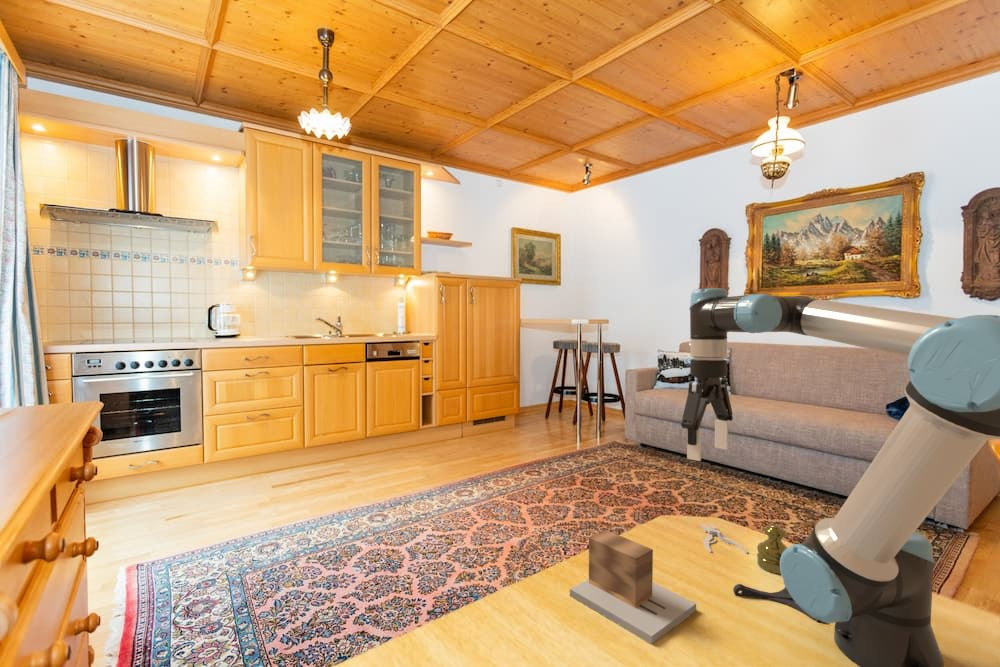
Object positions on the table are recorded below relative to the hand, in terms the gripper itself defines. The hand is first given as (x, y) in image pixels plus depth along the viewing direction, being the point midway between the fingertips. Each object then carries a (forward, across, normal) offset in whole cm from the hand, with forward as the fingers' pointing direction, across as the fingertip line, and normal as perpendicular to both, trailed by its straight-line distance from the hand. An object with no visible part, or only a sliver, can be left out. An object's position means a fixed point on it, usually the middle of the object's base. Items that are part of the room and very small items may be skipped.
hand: (708, 453), depth 107 cm
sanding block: (+28, +18, -11) cm, 35 cm away
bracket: (+31, -5, +11) cm, 33 cm away
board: (+29, +18, -8) cm, 36 cm away
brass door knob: (+30, -20, +7) cm, 36 cm away
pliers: (+30, -24, -8) cm, 39 cm away
